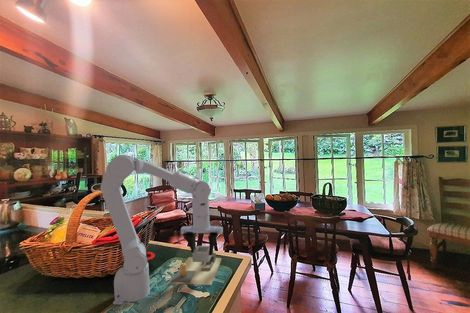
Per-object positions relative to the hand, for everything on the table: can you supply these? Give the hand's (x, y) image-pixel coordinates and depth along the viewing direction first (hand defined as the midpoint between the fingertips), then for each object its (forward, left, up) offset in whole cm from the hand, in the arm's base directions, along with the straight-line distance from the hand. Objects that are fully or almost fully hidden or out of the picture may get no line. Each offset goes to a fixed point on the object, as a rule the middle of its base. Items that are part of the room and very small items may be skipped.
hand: (202, 253), depth 77 cm
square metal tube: (0, 0, -2) cm, 2 cm away
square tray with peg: (-7, -1, -9) cm, 11 cm away
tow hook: (-30, +13, -9) cm, 34 cm away
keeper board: (-3, +4, -9) cm, 10 cm away
